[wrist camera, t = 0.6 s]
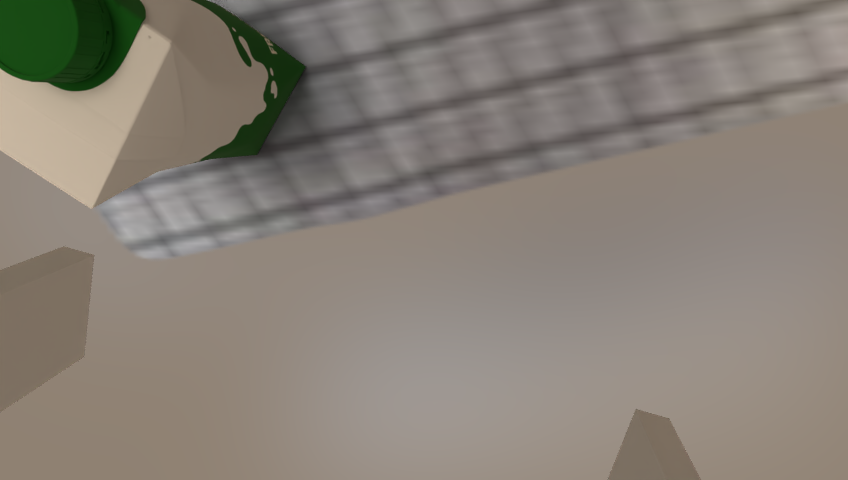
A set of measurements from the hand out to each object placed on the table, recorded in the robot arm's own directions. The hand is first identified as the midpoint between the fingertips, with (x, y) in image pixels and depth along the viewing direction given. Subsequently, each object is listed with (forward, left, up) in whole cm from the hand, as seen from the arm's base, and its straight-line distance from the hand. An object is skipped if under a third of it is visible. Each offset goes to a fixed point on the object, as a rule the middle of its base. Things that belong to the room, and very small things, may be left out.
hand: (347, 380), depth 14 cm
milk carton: (-4, -15, -28) cm, 32 cm away
